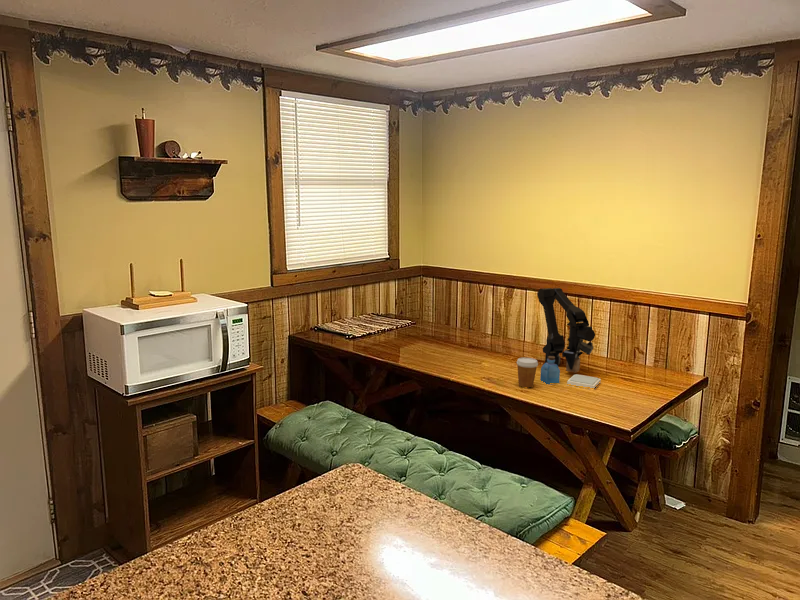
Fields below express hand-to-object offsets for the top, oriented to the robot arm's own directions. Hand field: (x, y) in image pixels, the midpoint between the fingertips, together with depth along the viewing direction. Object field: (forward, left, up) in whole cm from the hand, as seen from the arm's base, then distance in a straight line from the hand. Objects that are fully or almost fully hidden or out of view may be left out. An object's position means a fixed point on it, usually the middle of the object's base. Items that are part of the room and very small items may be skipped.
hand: (572, 368), depth 297 cm
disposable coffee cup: (-12, -31, -3) cm, 33 cm away
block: (0, 0, -1) cm, 1 cm away
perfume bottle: (-5, -19, -3) cm, 20 cm away
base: (+9, -13, -3) cm, 16 cm away
